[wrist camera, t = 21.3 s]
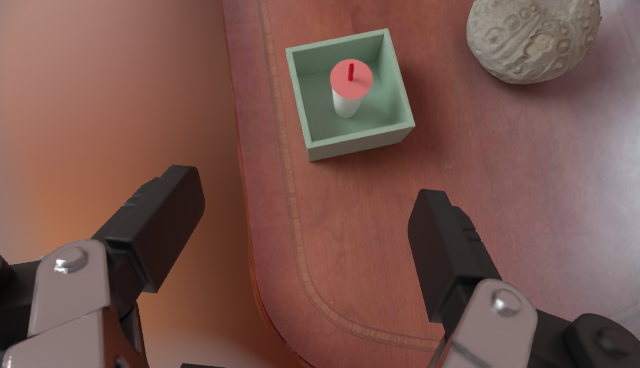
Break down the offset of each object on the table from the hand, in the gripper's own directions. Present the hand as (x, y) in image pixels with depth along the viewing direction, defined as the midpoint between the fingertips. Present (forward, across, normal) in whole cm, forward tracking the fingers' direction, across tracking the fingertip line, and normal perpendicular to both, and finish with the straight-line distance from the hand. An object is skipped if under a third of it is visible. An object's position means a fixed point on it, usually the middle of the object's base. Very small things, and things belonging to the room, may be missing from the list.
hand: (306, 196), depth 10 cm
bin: (+36, -3, +10) cm, 37 cm away
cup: (+35, -3, +10) cm, 36 cm away
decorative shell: (+45, -29, +1) cm, 54 cm away
